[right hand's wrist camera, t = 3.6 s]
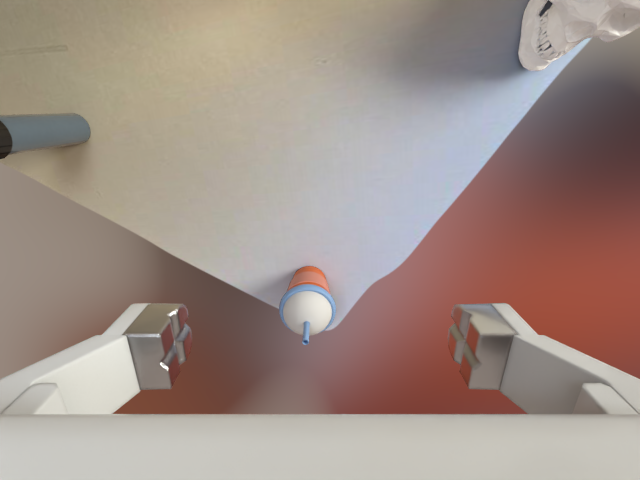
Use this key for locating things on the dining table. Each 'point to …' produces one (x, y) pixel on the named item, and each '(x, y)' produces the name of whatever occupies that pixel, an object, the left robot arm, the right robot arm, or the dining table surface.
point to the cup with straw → (307, 303)
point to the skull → (572, 27)
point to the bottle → (45, 131)
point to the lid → (5, 141)
